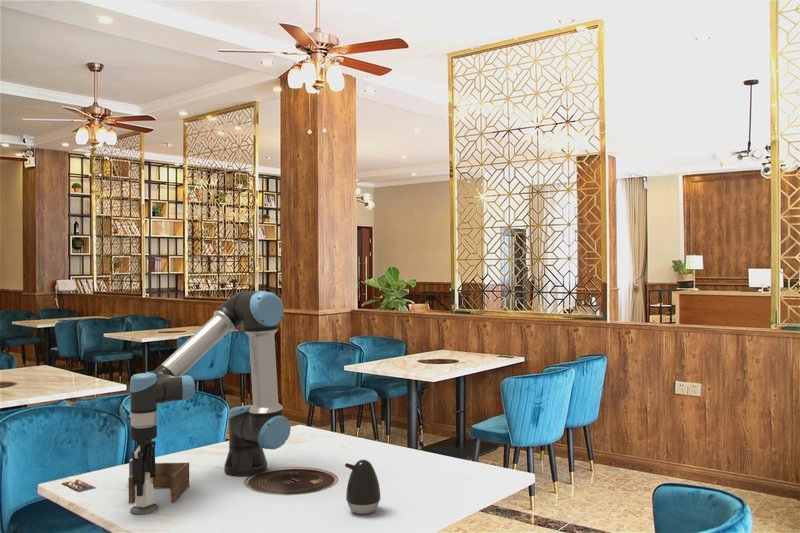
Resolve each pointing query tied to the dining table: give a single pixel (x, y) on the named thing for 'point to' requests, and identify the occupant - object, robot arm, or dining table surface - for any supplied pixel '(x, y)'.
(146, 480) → the pepper shaker
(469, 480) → the dining table surface
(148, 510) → the slate coaster
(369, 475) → the pump dispenser
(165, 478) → the wooden u-shaped frame
